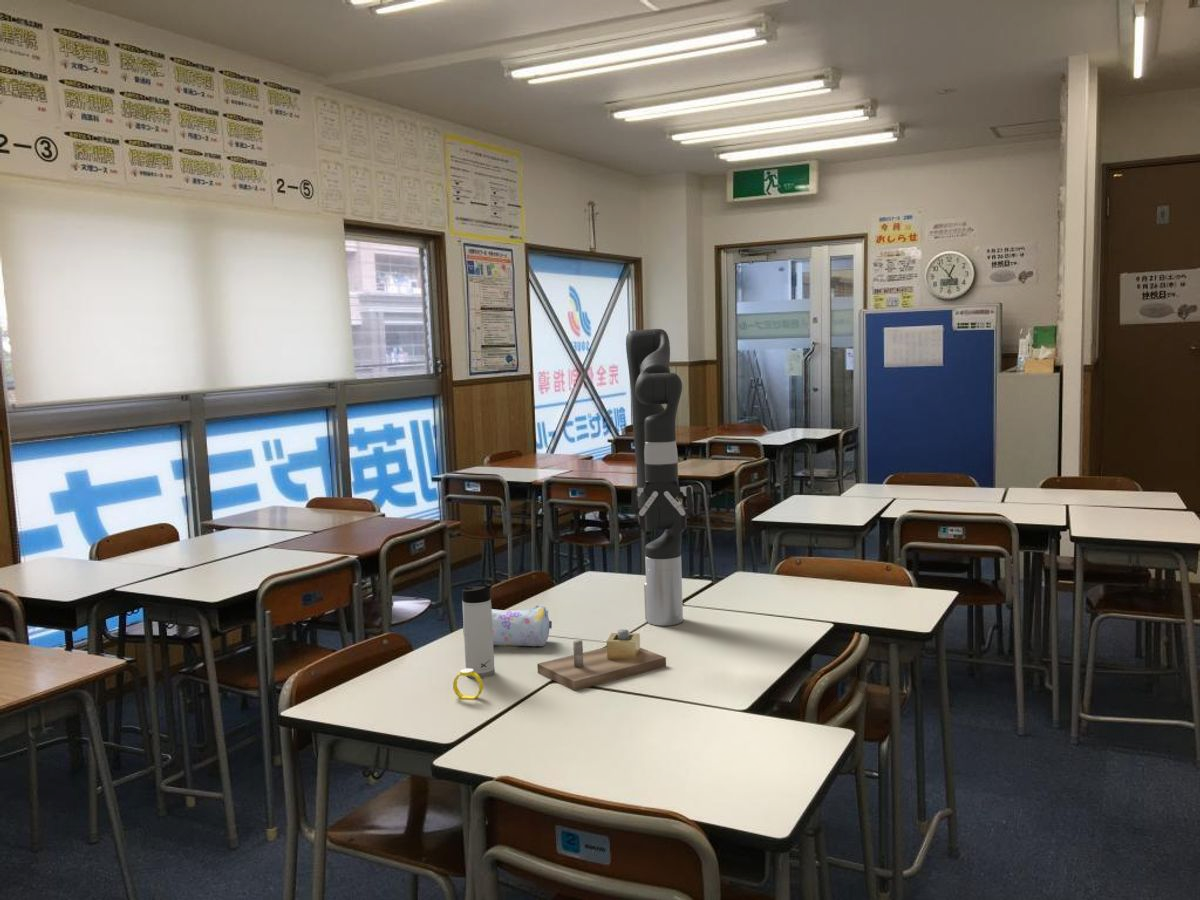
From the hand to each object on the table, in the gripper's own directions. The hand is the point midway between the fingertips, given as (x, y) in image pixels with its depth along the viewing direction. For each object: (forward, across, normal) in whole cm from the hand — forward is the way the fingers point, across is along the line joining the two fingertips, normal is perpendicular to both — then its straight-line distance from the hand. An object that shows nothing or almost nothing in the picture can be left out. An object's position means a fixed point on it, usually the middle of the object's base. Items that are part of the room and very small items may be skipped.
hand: (663, 531), depth 219 cm
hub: (+26, -8, -10) cm, 29 cm away
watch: (+28, -37, -34) cm, 57 cm away
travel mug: (+28, -39, -19) cm, 52 cm away
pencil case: (+28, -39, +3) cm, 49 cm away
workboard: (+28, -13, -14) cm, 34 cm away
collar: (+26, -8, -10) cm, 29 cm away
